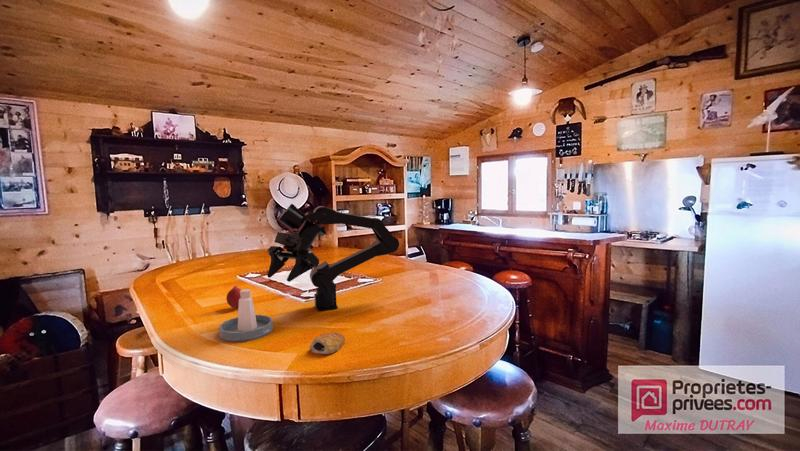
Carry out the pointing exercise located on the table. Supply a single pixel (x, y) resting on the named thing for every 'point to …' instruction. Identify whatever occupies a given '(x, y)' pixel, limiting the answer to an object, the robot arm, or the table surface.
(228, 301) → the onion
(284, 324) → the table surface
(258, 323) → the dish
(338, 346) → the pastry
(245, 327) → the pepper shaker
